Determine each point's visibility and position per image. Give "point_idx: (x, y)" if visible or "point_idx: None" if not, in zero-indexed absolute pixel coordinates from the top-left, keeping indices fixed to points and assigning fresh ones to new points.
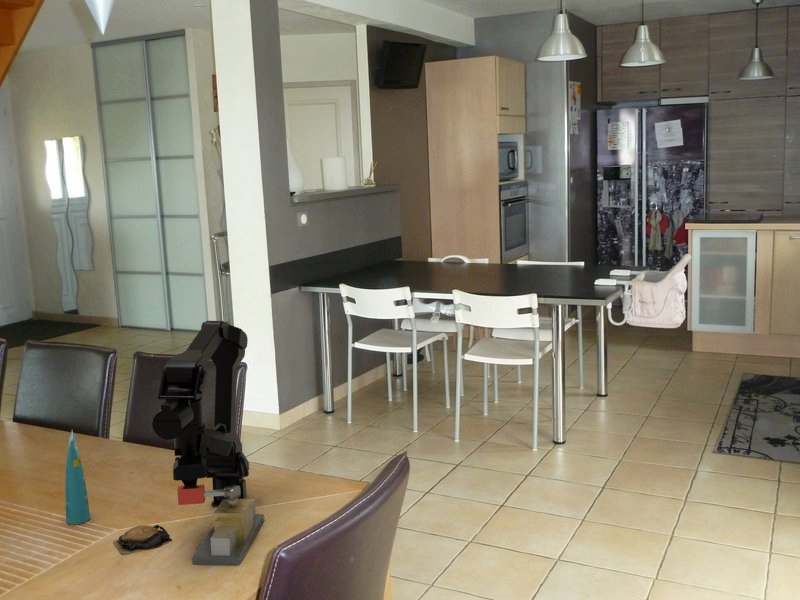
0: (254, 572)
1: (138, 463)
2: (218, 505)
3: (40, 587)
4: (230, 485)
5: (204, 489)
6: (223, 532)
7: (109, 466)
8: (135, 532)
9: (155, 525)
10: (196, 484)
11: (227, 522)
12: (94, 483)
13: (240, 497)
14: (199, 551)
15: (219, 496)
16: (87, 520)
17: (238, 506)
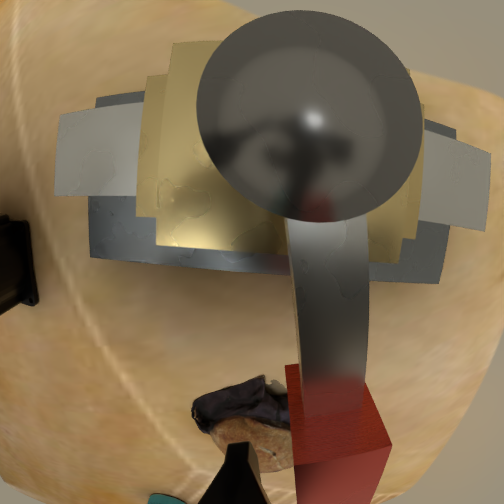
0: (467, 91)
1: None
2: (33, 284)
3: (411, 476)
4: (211, 147)
5: (292, 425)
6: (450, 182)
7: (11, 449)
8: (283, 462)
9: (206, 432)
10: (263, 496)
11: (421, 165)
12: (53, 472)
13: (2, 224)
14: (410, 269)
15: (12, 289)
16: (170, 497)
17: None
